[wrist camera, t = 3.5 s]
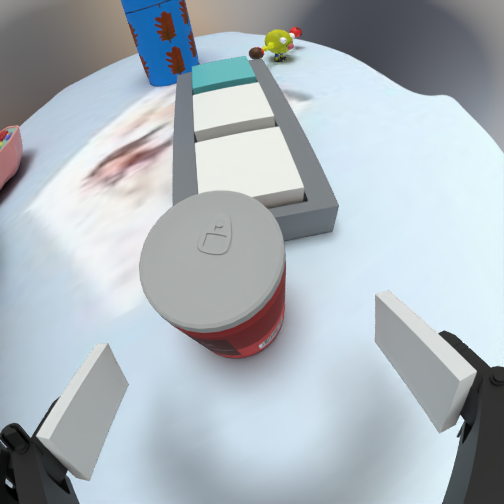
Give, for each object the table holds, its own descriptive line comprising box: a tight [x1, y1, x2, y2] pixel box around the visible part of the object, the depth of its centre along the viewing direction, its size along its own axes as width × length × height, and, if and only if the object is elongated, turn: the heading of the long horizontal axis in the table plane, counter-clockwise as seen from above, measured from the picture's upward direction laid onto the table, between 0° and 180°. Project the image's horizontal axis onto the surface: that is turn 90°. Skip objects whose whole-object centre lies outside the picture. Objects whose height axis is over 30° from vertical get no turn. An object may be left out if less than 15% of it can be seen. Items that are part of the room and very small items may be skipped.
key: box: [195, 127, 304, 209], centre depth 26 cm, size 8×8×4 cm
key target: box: [192, 56, 256, 95], centre depth 36 cm, size 8×8×4 cm
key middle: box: [193, 82, 275, 142], centre depth 31 cm, size 8×8×4 cm
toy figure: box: [249, 27, 302, 61], centre depth 43 cm, size 18×6×7 cm, turn 147°
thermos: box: [121, 0, 199, 86], centre depth 36 cm, size 11×11×25 cm
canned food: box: [139, 190, 286, 358], centre depth 19 cm, size 8×8×11 cm
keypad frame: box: [173, 59, 339, 241], centre depth 32 cm, size 14×32×4 cm, turn 10°
